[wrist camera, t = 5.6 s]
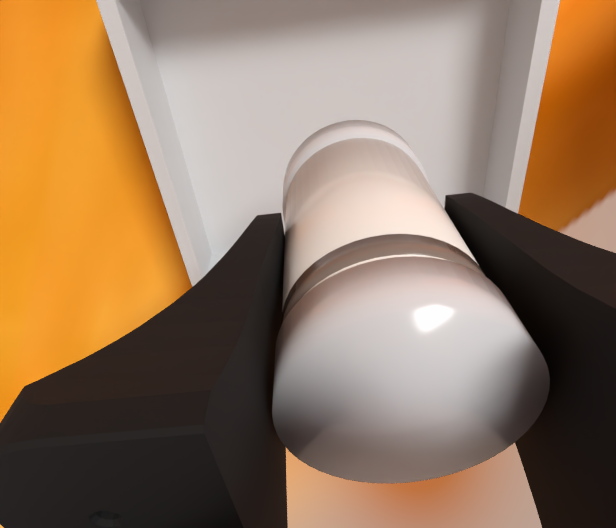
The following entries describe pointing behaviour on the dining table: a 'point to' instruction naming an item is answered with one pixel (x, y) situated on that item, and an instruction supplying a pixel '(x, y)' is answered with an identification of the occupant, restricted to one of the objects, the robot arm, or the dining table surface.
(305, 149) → the cylinder
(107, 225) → the dining table surface
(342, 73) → the parts tray
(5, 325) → the dining table surface
